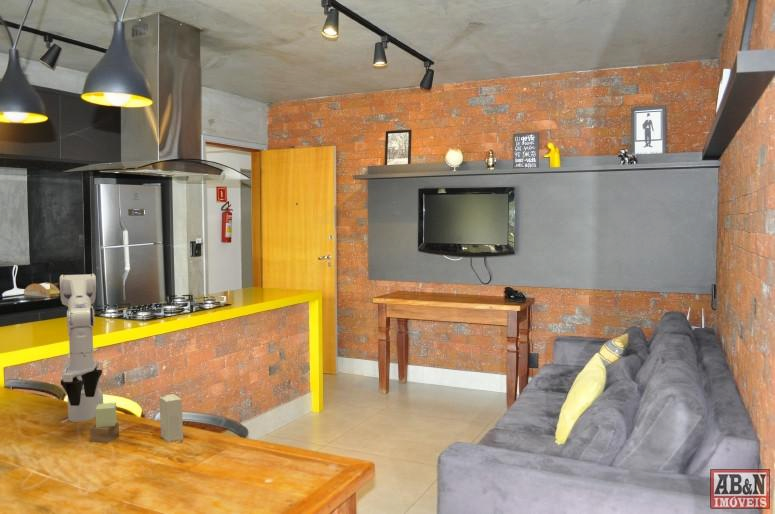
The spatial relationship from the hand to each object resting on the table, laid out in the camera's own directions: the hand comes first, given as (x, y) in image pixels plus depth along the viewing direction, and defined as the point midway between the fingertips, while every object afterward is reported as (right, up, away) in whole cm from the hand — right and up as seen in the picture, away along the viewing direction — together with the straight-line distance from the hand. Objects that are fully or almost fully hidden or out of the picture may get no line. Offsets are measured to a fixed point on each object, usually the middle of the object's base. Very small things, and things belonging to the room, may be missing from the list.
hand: (82, 400), depth 166 cm
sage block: (+7, -6, -1) cm, 9 cm away
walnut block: (+7, -10, -2) cm, 12 cm away
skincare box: (+24, -11, 0) cm, 27 cm away
